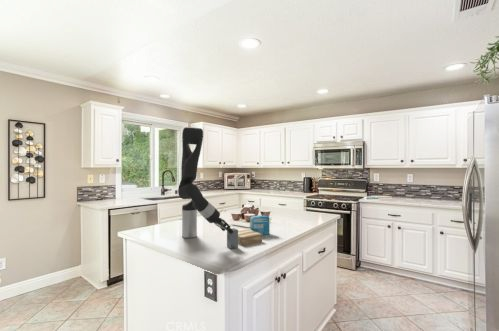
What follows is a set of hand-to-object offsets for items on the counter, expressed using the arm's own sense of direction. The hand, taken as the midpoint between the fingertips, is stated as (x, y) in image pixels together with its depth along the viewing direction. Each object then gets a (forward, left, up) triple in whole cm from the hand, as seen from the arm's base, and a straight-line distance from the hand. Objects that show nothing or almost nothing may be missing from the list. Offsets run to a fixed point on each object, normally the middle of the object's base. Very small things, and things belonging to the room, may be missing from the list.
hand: (228, 231), depth 146 cm
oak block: (-7, +16, -10) cm, 20 cm away
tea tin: (0, +3, -9) cm, 10 cm away
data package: (-15, +32, -10) cm, 36 cm away
